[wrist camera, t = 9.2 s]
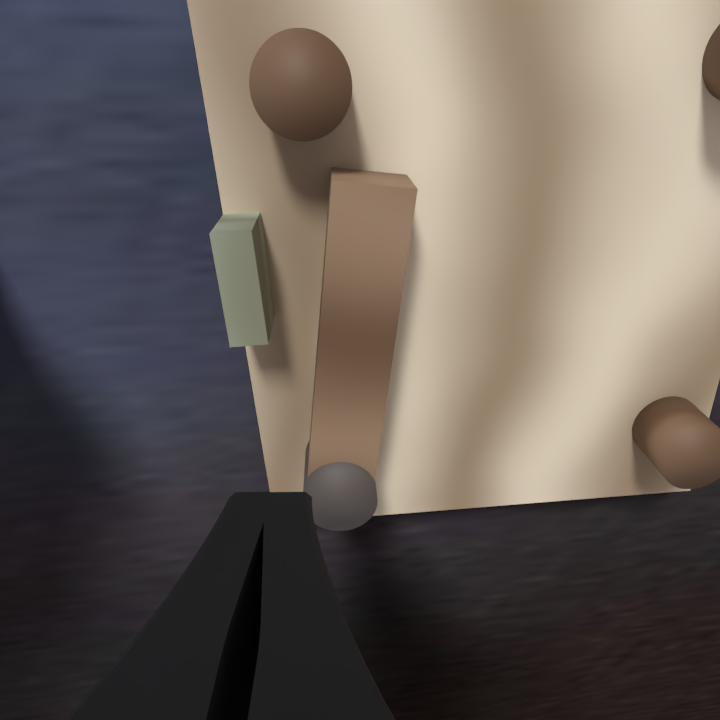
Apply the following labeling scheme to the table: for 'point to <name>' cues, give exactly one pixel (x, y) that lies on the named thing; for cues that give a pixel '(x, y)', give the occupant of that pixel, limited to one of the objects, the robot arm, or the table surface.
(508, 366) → the stool seat
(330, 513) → the folding leg
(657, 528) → the table surface
